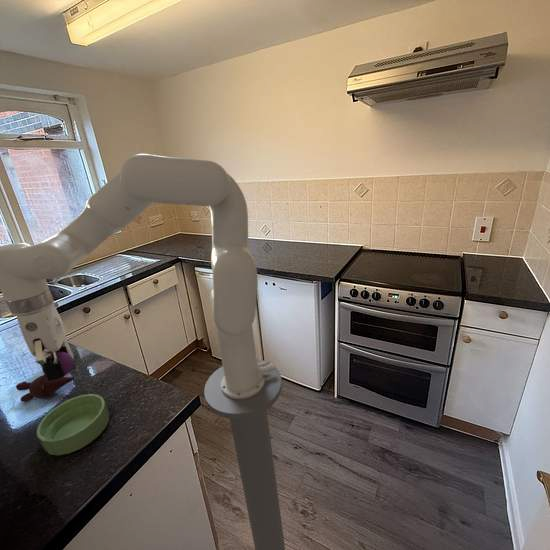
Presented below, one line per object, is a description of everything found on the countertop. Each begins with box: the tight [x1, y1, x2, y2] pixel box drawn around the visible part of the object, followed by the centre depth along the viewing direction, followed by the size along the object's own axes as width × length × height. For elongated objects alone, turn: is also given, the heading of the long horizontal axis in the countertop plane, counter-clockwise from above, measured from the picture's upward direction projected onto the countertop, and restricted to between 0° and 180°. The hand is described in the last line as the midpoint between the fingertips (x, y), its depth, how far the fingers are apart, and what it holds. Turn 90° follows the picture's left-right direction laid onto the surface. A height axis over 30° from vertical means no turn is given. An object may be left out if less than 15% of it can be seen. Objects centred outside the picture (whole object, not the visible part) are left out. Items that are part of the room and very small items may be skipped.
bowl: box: [36, 393, 110, 456], centre depth 74 cm, size 14×14×5 cm
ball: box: [41, 352, 75, 377], centre depth 70 cm, size 6×6×6 cm
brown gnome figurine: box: [15, 373, 75, 403], centre depth 87 cm, size 7×7×15 cm
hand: (60, 369), depth 70 cm, fingers closed on ball, 5 cm apart
